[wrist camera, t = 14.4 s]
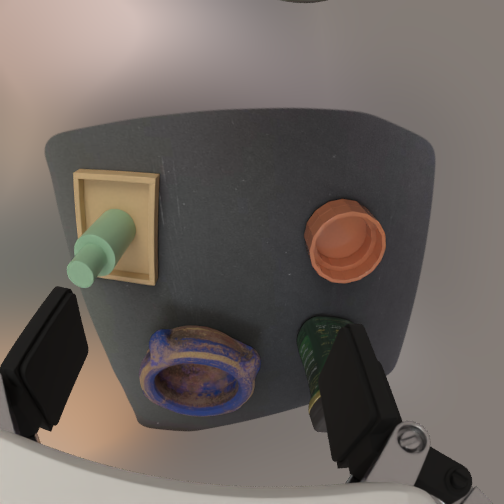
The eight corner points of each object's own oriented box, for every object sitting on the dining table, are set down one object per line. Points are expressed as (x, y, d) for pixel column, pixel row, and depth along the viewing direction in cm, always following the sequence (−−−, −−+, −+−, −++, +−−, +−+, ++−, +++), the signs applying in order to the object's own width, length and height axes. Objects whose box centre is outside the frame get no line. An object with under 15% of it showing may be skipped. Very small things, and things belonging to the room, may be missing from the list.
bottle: (98, 206, 39) (54, 248, 28) (135, 210, 39) (99, 255, 29) (100, 243, 42) (63, 291, 31) (136, 248, 42) (105, 299, 32)
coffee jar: (290, 345, 52) (303, 441, 36) (305, 310, 48) (327, 410, 32) (342, 351, 53) (366, 439, 37) (360, 318, 49) (395, 409, 33)
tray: (80, 168, 37) (73, 172, 35) (159, 173, 38) (155, 178, 36) (88, 267, 44) (83, 274, 42) (158, 278, 45) (154, 285, 43)
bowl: (235, 388, 57) (233, 431, 49) (144, 363, 54) (132, 405, 45) (271, 324, 49) (275, 373, 41) (160, 292, 46) (144, 337, 37)
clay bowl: (312, 192, 39) (320, 205, 35) (380, 204, 40) (395, 219, 36) (297, 259, 44) (302, 279, 39) (361, 266, 45) (371, 286, 40)
